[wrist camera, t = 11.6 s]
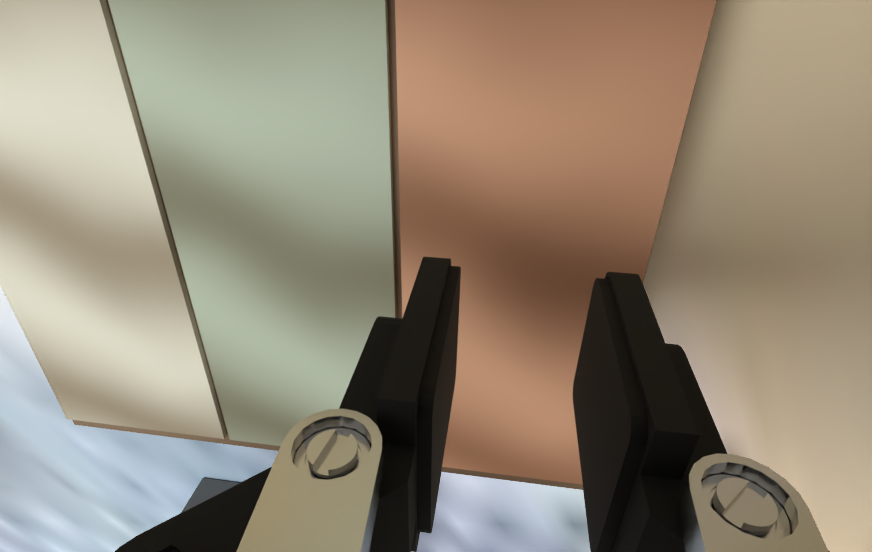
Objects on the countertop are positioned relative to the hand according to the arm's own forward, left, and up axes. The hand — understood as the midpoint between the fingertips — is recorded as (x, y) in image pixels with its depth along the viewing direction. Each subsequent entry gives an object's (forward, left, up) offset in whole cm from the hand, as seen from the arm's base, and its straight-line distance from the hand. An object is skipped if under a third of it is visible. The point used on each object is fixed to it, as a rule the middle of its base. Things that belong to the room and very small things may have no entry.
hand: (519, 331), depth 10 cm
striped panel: (0, -6, -4) cm, 7 cm away
